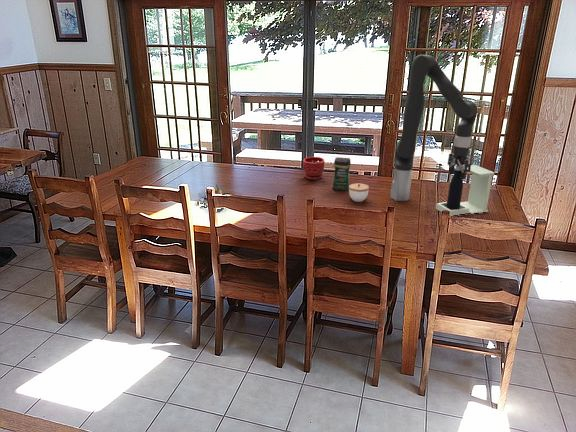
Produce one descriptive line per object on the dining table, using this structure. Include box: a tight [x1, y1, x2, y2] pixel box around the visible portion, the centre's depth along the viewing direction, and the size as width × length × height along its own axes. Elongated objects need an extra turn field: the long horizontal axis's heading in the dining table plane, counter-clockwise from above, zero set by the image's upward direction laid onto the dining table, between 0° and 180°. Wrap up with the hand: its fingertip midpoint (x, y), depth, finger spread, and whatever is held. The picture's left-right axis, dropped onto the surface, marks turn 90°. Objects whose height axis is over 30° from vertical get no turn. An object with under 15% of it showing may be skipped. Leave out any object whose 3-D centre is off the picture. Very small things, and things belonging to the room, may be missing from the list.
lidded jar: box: [348, 182, 370, 203], centre depth 247 cm, size 11×11×9 cm
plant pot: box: [302, 156, 325, 181], centre depth 282 cm, size 13×13×12 cm
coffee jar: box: [332, 156, 352, 191], centre depth 262 cm, size 10×8×19 cm
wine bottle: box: [446, 156, 464, 210], centre depth 227 cm, size 6×6×30 cm
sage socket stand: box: [435, 164, 495, 217], centre depth 230 cm, size 22×14×21 cm, turn 109°
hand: (457, 176), depth 225 cm, fingers open, 8 cm apart
